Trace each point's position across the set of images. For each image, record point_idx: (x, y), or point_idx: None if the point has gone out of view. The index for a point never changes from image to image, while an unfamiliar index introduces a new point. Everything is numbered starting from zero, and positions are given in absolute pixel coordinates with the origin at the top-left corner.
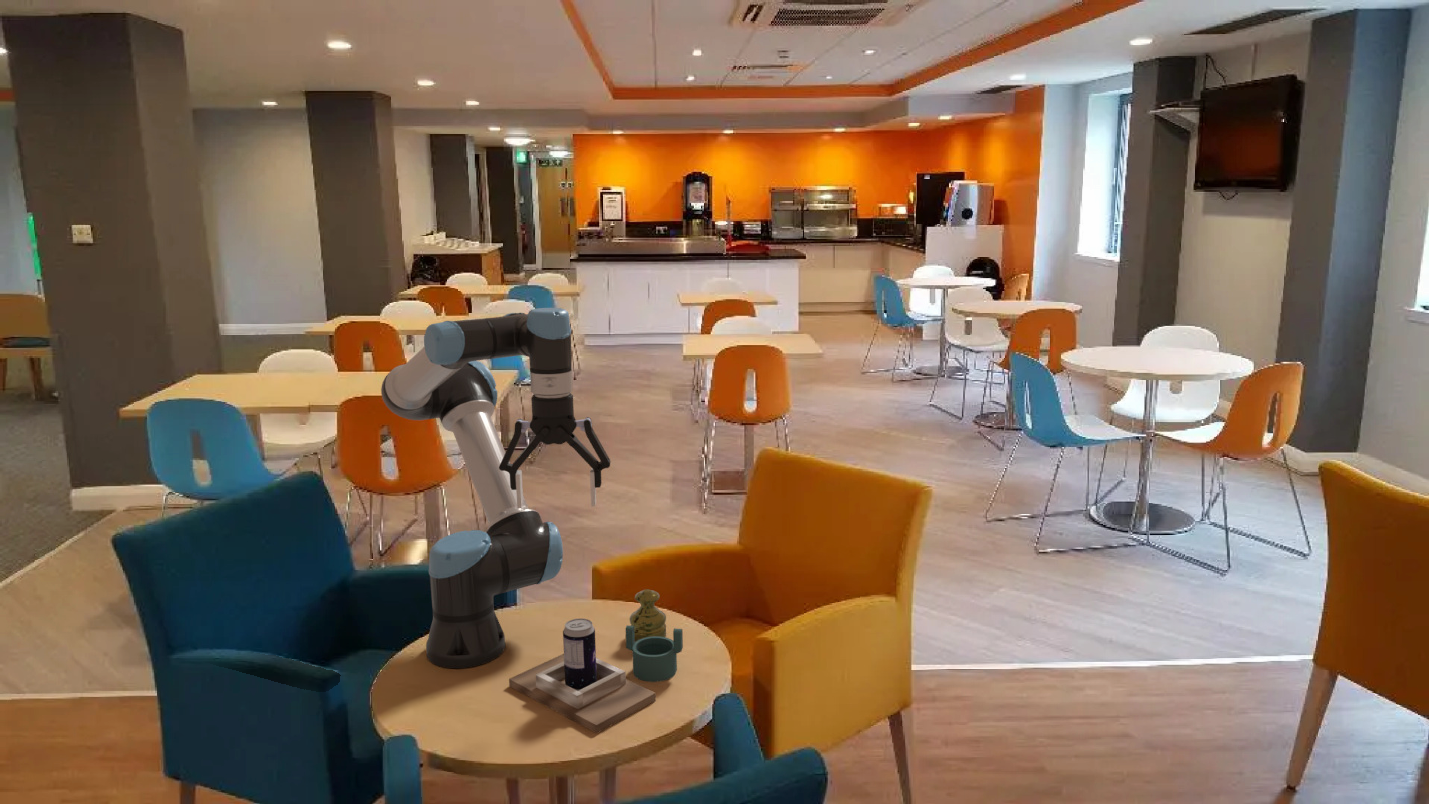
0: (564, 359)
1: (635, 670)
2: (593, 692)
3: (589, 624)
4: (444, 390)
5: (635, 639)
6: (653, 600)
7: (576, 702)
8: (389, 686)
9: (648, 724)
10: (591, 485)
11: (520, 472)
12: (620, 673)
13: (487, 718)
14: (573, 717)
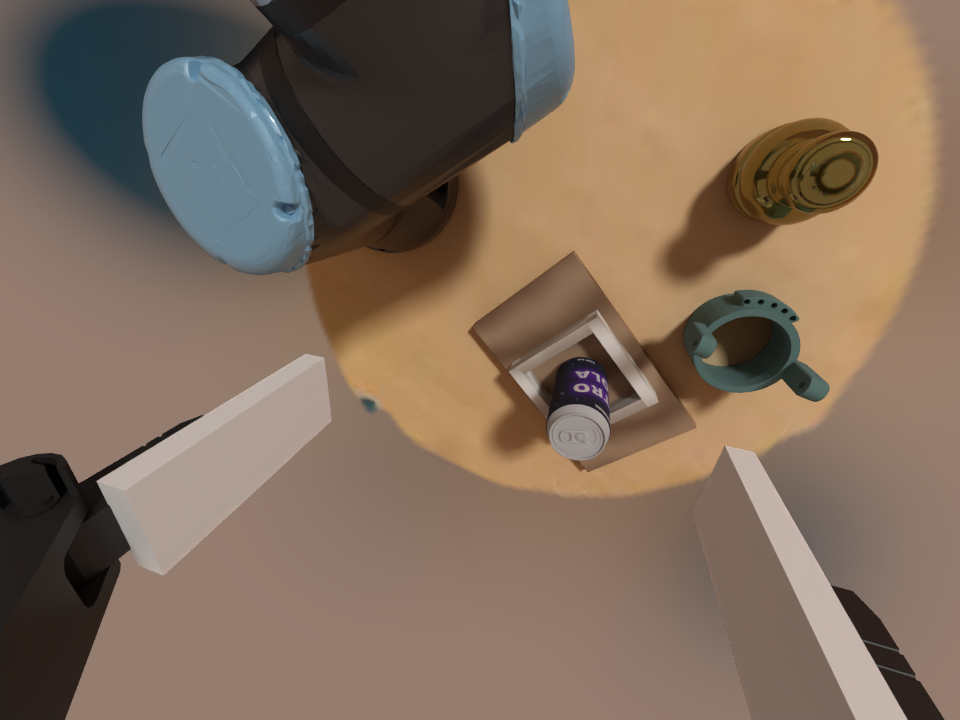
0: None
1: (686, 348)
2: None
3: (599, 439)
4: None
5: (733, 204)
6: (834, 210)
7: None
8: (314, 281)
9: (662, 468)
10: (740, 655)
11: (147, 541)
12: (647, 406)
13: (453, 394)
14: None
